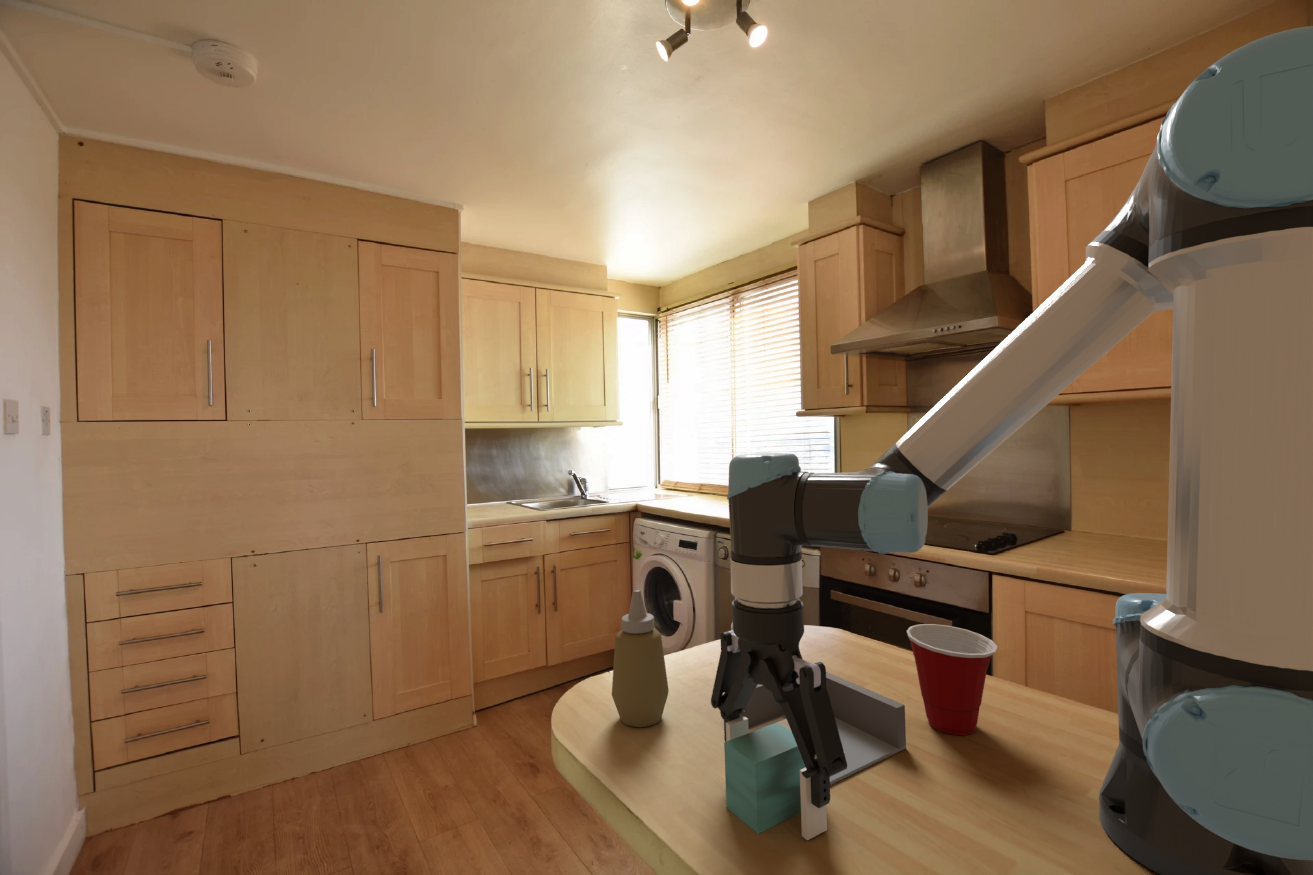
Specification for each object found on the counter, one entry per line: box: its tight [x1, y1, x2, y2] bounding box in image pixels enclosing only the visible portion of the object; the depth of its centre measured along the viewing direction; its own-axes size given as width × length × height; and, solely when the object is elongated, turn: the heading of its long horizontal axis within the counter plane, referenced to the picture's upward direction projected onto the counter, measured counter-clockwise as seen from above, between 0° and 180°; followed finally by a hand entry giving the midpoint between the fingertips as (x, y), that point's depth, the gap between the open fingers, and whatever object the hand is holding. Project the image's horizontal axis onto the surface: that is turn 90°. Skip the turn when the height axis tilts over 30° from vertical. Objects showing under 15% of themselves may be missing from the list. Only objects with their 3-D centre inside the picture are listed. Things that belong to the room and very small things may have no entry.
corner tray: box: [740, 671, 907, 786], centre depth 76 cm, size 16×15×5 cm
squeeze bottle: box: [611, 589, 669, 728], centre depth 83 cm, size 8×8×18 cm
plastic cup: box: [906, 623, 998, 736], centre depth 78 cm, size 11×11×12 cm
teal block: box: [723, 719, 817, 835], centre depth 63 cm, size 9×5×7 cm, turn 122°
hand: (773, 802), depth 63 cm, fingers open, 11 cm apart
